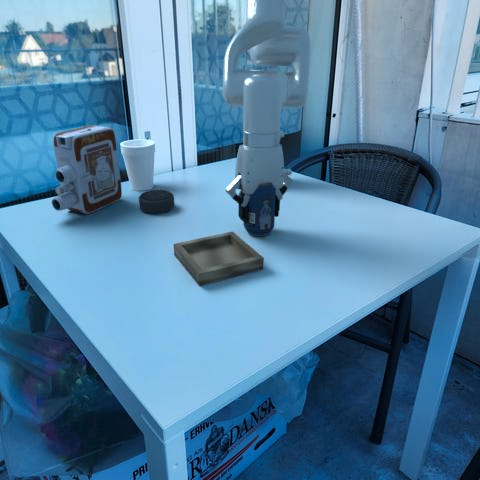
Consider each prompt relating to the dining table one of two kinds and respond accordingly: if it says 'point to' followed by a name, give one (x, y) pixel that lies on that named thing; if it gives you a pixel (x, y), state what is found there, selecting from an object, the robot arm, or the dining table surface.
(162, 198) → the smart speaker
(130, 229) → the dining table surface
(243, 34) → the robot arm
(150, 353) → the dining table surface
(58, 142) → the cine camera
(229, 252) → the taupe tray
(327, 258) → the dining table surface
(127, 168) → the foam cup
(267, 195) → the soda can
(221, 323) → the dining table surface
